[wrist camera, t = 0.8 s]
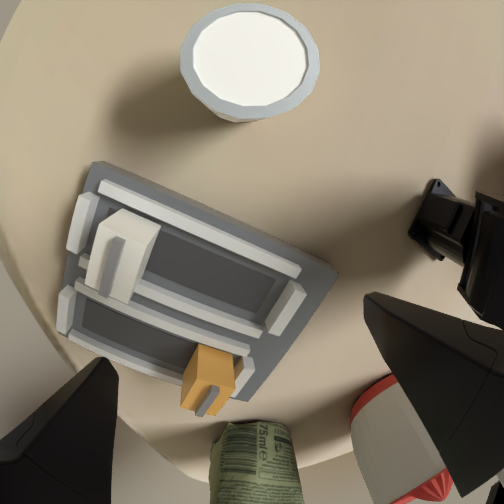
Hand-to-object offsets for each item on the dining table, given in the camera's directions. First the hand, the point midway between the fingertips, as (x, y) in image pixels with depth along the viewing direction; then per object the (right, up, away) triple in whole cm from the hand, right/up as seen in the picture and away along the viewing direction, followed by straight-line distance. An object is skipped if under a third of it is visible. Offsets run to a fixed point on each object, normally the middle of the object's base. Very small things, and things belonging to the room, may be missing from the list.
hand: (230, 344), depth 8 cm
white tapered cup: (0, +15, +9) cm, 17 cm away
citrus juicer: (+21, -18, +24) cm, 36 cm away
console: (-5, -1, +14) cm, 15 cm away
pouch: (0, -22, +23) cm, 32 cm away
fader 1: (-8, +3, +9) cm, 12 cm away
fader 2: (-3, -7, +14) cm, 16 cm away
